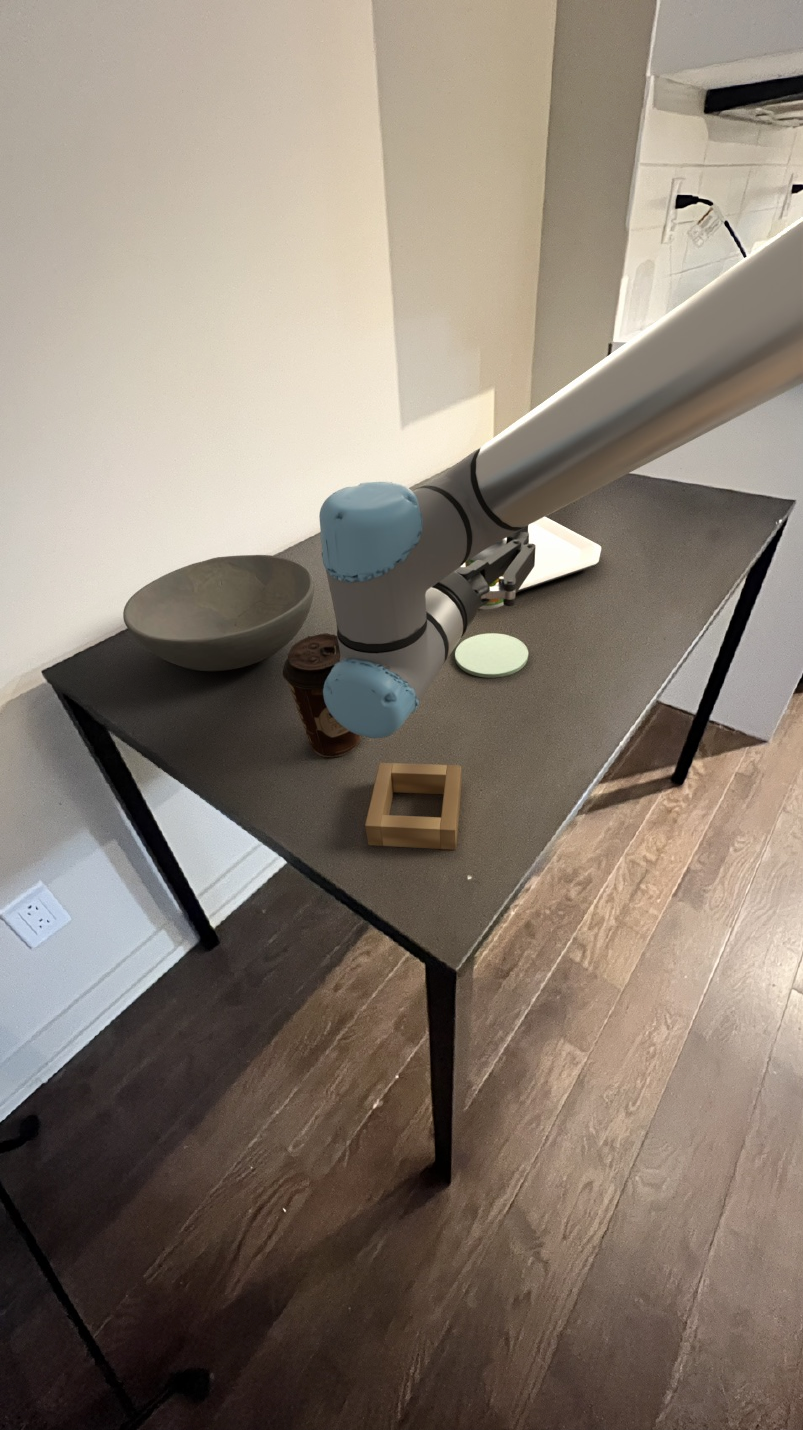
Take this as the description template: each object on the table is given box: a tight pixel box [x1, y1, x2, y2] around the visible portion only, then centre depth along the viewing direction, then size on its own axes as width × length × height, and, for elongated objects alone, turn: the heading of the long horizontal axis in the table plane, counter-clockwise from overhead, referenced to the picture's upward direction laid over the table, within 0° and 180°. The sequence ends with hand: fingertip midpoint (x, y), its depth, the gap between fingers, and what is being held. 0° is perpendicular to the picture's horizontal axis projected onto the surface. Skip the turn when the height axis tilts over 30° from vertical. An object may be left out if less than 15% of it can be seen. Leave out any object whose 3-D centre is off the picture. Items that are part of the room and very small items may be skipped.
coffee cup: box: [282, 632, 362, 758], centre depth 71 cm, size 9×8×13 cm
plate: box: [460, 516, 602, 593], centre depth 108 cm, size 29×29×2 cm
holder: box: [364, 762, 463, 851], centre depth 64 cm, size 9×9×3 cm
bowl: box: [122, 554, 315, 672], centre depth 90 cm, size 26×26×10 cm
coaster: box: [454, 632, 529, 679], centre depth 86 cm, size 10×10×1 cm
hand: (500, 523), depth 77 cm, fingers closed on supplement bottle, 5 cm apart
